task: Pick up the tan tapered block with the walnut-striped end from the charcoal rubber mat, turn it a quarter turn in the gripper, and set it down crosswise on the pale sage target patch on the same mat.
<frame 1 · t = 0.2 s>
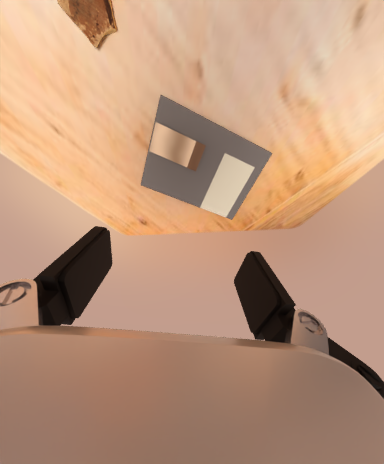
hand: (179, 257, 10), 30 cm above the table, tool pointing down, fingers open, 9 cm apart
mat: (203, 169, 35), on the table
tan tapered block: (178, 147, 32), point 1 cm above the table, touching mat
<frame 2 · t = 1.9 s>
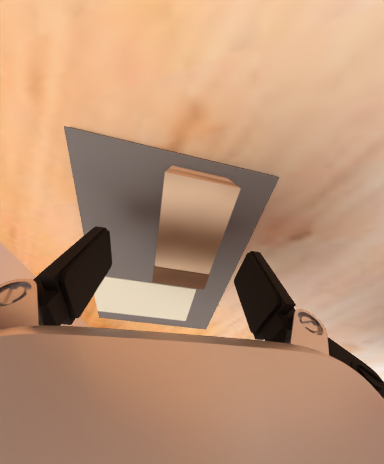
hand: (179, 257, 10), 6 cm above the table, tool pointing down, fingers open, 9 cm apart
mat: (163, 264, 19), on the table
tan tapered block: (189, 221, 15), point 1 cm above the table, touching mat
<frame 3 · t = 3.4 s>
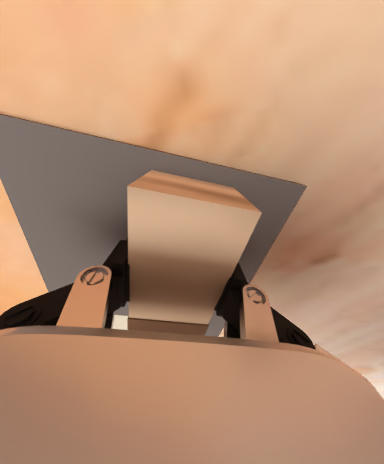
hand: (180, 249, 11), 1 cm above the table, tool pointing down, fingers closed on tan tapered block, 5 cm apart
mat: (149, 294, 15), on the table
tan tapered block: (180, 245, 11), point 1 cm above the table, touching gripper, mat
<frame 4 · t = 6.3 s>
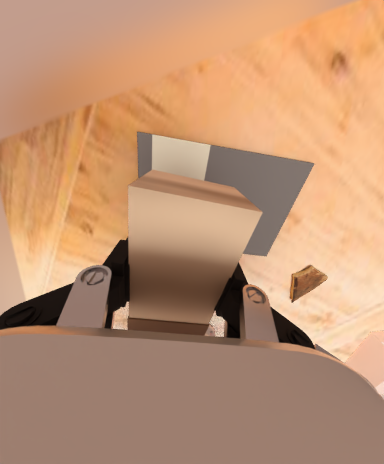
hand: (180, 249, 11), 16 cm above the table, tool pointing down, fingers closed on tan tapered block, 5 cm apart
shard: (305, 279, 37), on the table
mat: (215, 206, 26), on the table
tan tapered block: (180, 245, 11), point 15 cm above the table, touching gripper
hipped roof block: (374, 354, 61), on the table
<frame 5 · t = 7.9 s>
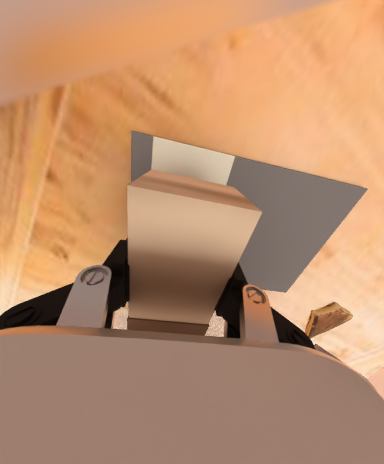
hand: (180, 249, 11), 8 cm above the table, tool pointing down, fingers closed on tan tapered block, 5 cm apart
shard: (324, 315, 31), on the table
mat: (231, 234, 20), on the table
tan tapered block: (180, 245, 11), point 8 cm above the table, touching gripper
hipped roof block: (381, 385, 56), on the table
when the fingers open (3 cm above the table, at t = 9.2 s): tan tapered block drops 2 cm, resting on mat.
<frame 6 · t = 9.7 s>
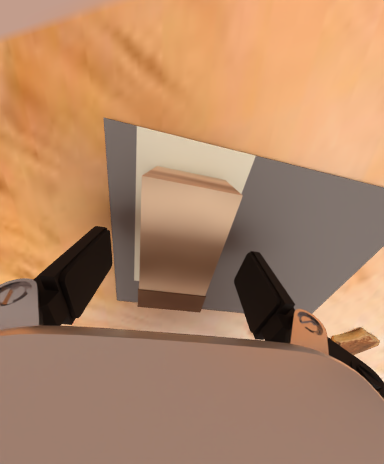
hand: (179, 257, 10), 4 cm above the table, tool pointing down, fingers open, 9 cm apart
shard: (345, 339, 27), on the table
mat: (243, 255, 15), on the table
tan tapered block: (181, 232, 13), point 1 cm above the table, touching mat
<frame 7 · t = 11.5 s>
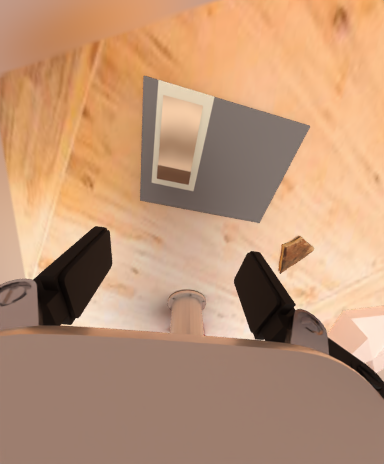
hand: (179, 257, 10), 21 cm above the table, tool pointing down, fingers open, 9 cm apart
shard: (293, 251, 39), on the table
mat: (215, 166, 27), on the table
tan tapered block: (178, 145, 24), point 1 cm above the table, touching mat
hipped roof block: (349, 332, 66), on the table
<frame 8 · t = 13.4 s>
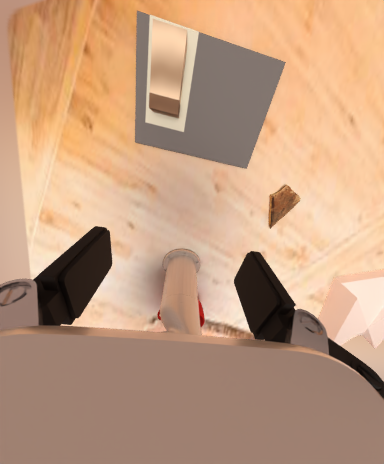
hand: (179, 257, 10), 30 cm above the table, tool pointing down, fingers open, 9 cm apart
shard: (281, 205, 41), on the table
mat: (202, 106, 29), on the table
tan tapered block: (169, 81, 27), point 1 cm above the table, touching mat
hipped roof block: (345, 305, 67), on the table
ceramic cup: (181, 296, 60), on the table
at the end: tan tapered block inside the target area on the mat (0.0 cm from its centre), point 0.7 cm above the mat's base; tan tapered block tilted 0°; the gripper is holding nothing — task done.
